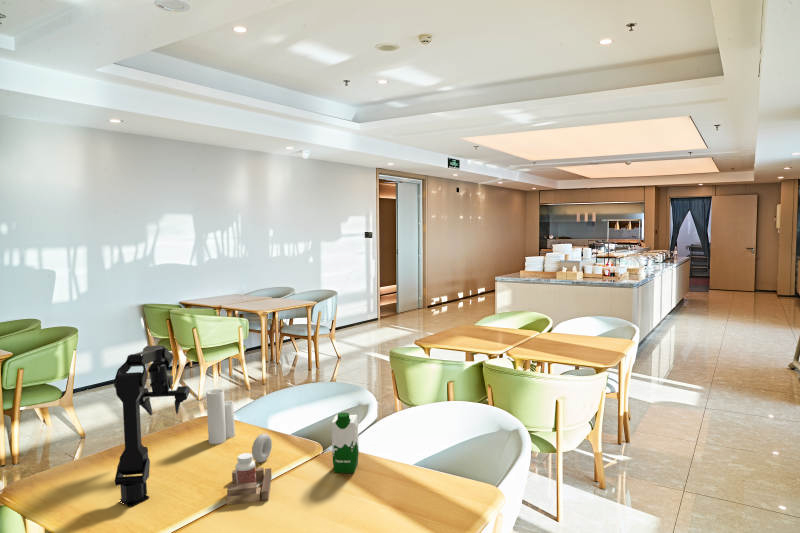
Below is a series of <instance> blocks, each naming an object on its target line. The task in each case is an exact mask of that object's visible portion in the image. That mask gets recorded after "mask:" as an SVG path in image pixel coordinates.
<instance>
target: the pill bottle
mask: <svg viewBox="0 0 800 533" xmlns="http://www.w3.org/2000/svg"><path fill="white" fill-rule="evenodd" d="M255 468H256V461H255V460H254V458H253V455H252V452H251V453H249V452H245V453H244V452H243V453H241V454H239V455H238V456H237V463H236V464H235V470H236V483H235V484H241V483H252V482H257V481H256V469H255Z"/></svg>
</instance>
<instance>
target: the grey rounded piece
mask: <svg viewBox="0 0 800 533" xmlns="http://www.w3.org/2000/svg"><path fill="white" fill-rule="evenodd" d="M272 446H273V444H272V438H271V436H270V435H269V434H268V433H261V434H259V435H257V437H256V438H255V439H254V441H253V444H252V448H251V454H252V455H253V461H254V462H255V463H263V462H265V461H266V460H268V458H269V457H270V454H271V451H272Z"/></svg>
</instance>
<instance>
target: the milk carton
mask: <svg viewBox="0 0 800 533" xmlns="http://www.w3.org/2000/svg"><path fill="white" fill-rule="evenodd" d="M358 422H359V421H358V415H357V414H350V413H348V412H340V413H338V414H336V415H335V416H334V417H333V419H332V421H331V450H332V451H331V452H332V454H331V456H332V465H333V473H334V474H355V471H356V469H357V467H358V466H359V465H358V462H359V455H360V454H359V453H360V451H359V423H358Z"/></svg>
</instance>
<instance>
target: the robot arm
mask: <svg viewBox="0 0 800 533" xmlns="http://www.w3.org/2000/svg"><path fill="white" fill-rule="evenodd" d="M173 360H174V354H173V353H172V352H171V351H169V350H168V348H167V347H166V345H164V344H163V345H162V344H161V345H146V346H145V347H143V349H142V351H140V352H136V353H131V354H128V355H127V357H126V360H125V362H124V363H122V365H120V366H119V367H118V369H117V370H116V374H115V376H114V380H113V386H114V388H115V394H116V396H117V397H118V399H119V400H120V401H121V402H122V415H123V416H122V417H123V436H124V438H123V439H124V449H123V451H122V453H121V455H120V456H119V462H118V465H117V467H116V473H115V478H114V483H115V484H114V485H115V486H120V499H119V500H121V501H120V502H122V503H124V504H126V505H128V506H127V507H129V506H132V505H134V504H136V505H138V504H140V503H142V502H144V501H146V500H148V499H150V496H149V495H148V489H147V480H148V479H149V478H150V468H151V466H150V465H151V460H150V458H149V448H148V447H147V446H144V445H143V444H142V427H141V407H142V409H144V410H145V411H146V413H148V415H150V416H152V415H153V409H152V403H151V398H162V397H163V398H164V397H174V399H175V400H174V409H175V414H176V415H178V414H179V411H180V407H181V403H184V401H186V400H188V397H189V395H190V392H191V390H190V387H189V386H187V385H182V386H181V385H180V386H177V388H176V389H173V390H170V389H171V388H172V385H174V376H173V375H168V369H169V367H170V366H171V364H172V362H173ZM149 363H151V364H150V365H149V366H148V370H147V368H146V365H148V364H149ZM132 367H142V368H143V370H142V371H137V372H128V371H130V370H131V368H132ZM148 376H149V379H150V384H149V387H150V388H151V391H149V388H147V387H146V384H147V380H148ZM140 406H141V407H140ZM147 498H148V499H147ZM145 499H146V500H145ZM143 500H144V501H143ZM141 501H142V502H141ZM139 502H140V503H139ZM122 503H121V504H122ZM137 503H138V504H137ZM124 504H123V505H124ZM126 505H125V506H126ZM134 506H135V505H134ZM132 507H133V506H132Z"/></svg>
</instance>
